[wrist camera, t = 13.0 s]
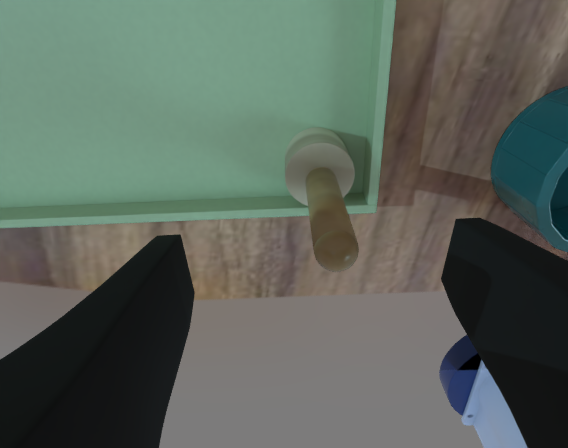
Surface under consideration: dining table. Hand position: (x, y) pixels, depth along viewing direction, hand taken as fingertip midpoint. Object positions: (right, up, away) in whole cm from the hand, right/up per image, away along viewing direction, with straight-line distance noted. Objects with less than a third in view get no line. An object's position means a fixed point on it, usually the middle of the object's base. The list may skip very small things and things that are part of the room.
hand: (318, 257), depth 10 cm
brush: (+1, +4, +9) cm, 10 cm away
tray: (-9, +8, +8) cm, 14 cm away
